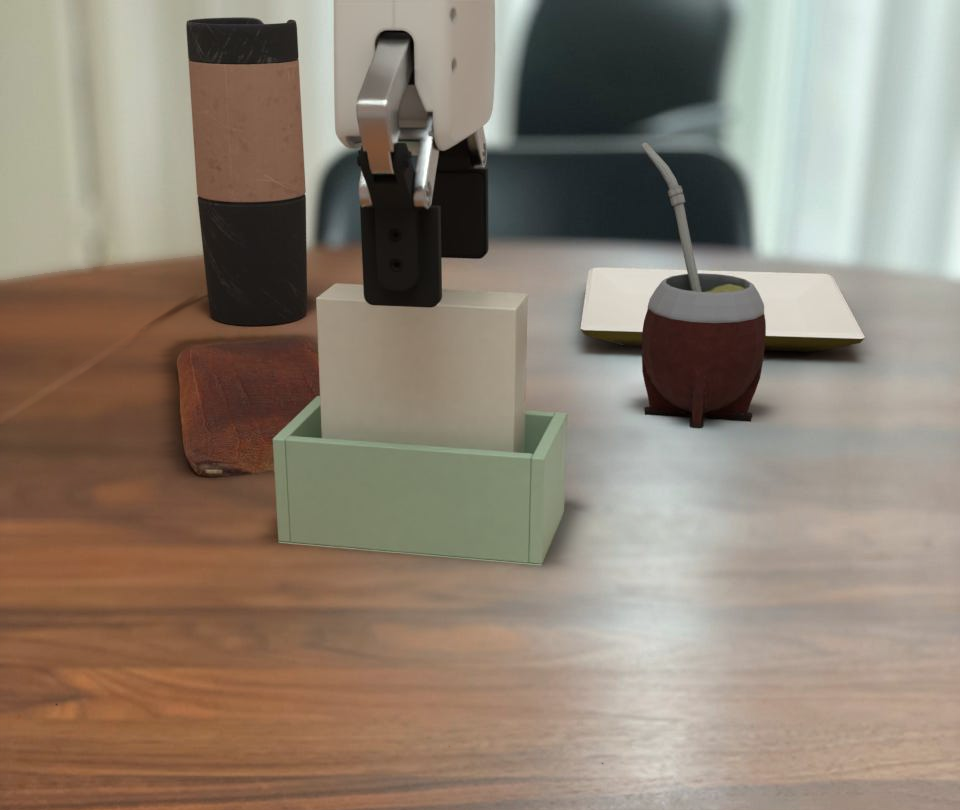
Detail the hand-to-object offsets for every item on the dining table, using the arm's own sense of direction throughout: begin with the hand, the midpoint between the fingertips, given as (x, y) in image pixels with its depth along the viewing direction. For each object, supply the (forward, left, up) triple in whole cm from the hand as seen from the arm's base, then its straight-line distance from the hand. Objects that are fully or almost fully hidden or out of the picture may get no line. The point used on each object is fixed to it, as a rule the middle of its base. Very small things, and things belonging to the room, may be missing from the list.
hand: (430, 279), depth 66 cm
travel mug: (-22, +40, -12) cm, 47 cm away
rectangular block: (0, 0, -12) cm, 12 cm away
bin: (0, 0, -12) cm, 12 cm away
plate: (+11, +44, -12) cm, 46 cm away
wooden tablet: (-14, +18, -12) cm, 26 cm away
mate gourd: (+11, +22, -12) cm, 27 cm away
